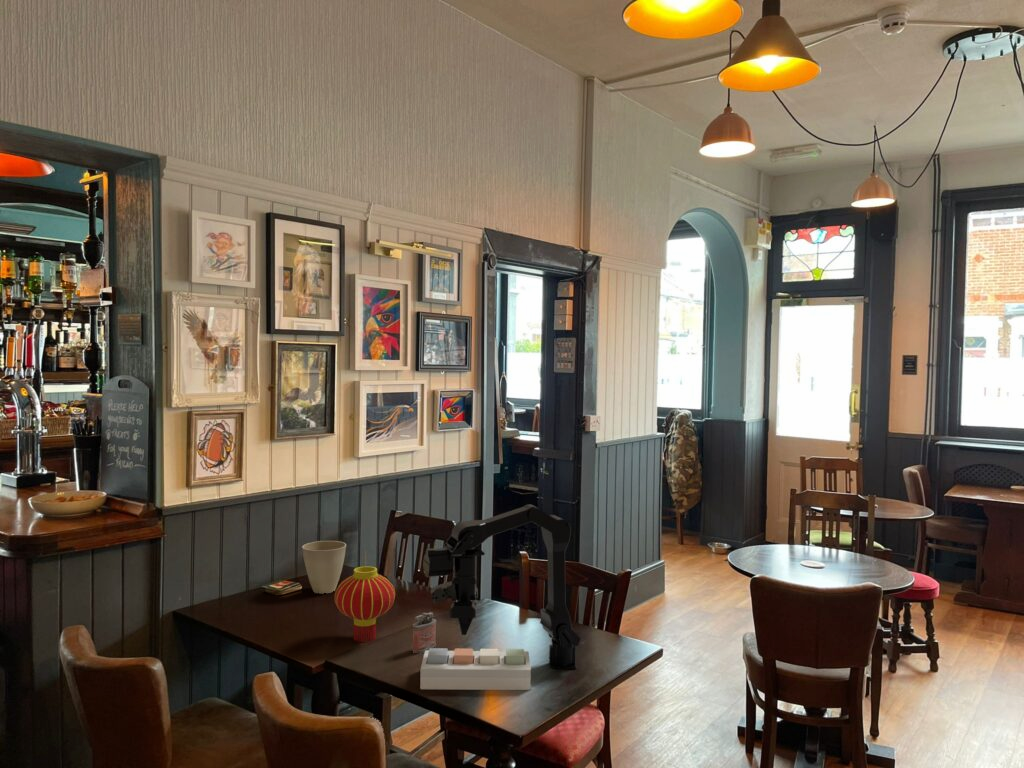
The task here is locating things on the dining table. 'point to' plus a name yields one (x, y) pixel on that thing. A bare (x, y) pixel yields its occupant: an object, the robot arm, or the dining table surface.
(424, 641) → the lighter
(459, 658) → the key terracotta
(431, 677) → the keypad
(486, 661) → the key cream
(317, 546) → the plant pot
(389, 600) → the lantern
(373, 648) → the dining table surface
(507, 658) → the key sage
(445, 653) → the key slate
